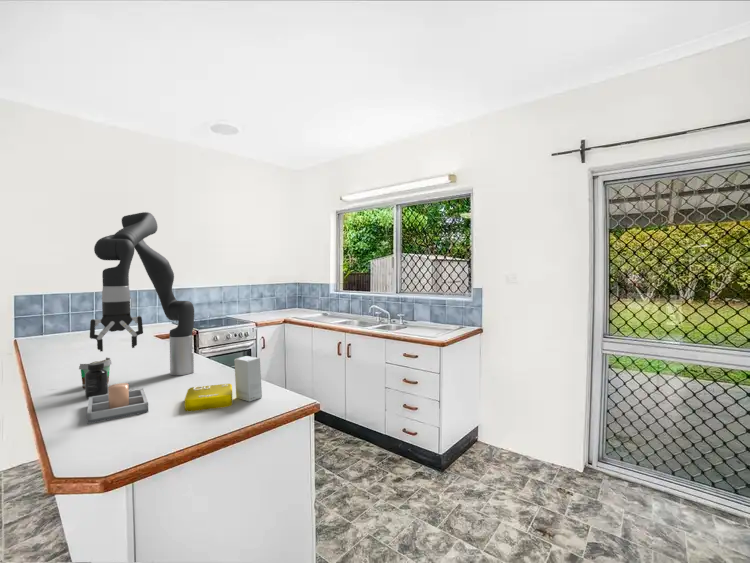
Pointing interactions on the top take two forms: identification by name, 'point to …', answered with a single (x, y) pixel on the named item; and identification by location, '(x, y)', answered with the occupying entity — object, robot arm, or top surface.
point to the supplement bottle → (96, 380)
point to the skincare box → (248, 378)
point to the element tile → (208, 397)
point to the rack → (101, 411)
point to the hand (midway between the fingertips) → (117, 349)
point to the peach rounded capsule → (118, 395)
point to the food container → (85, 369)
